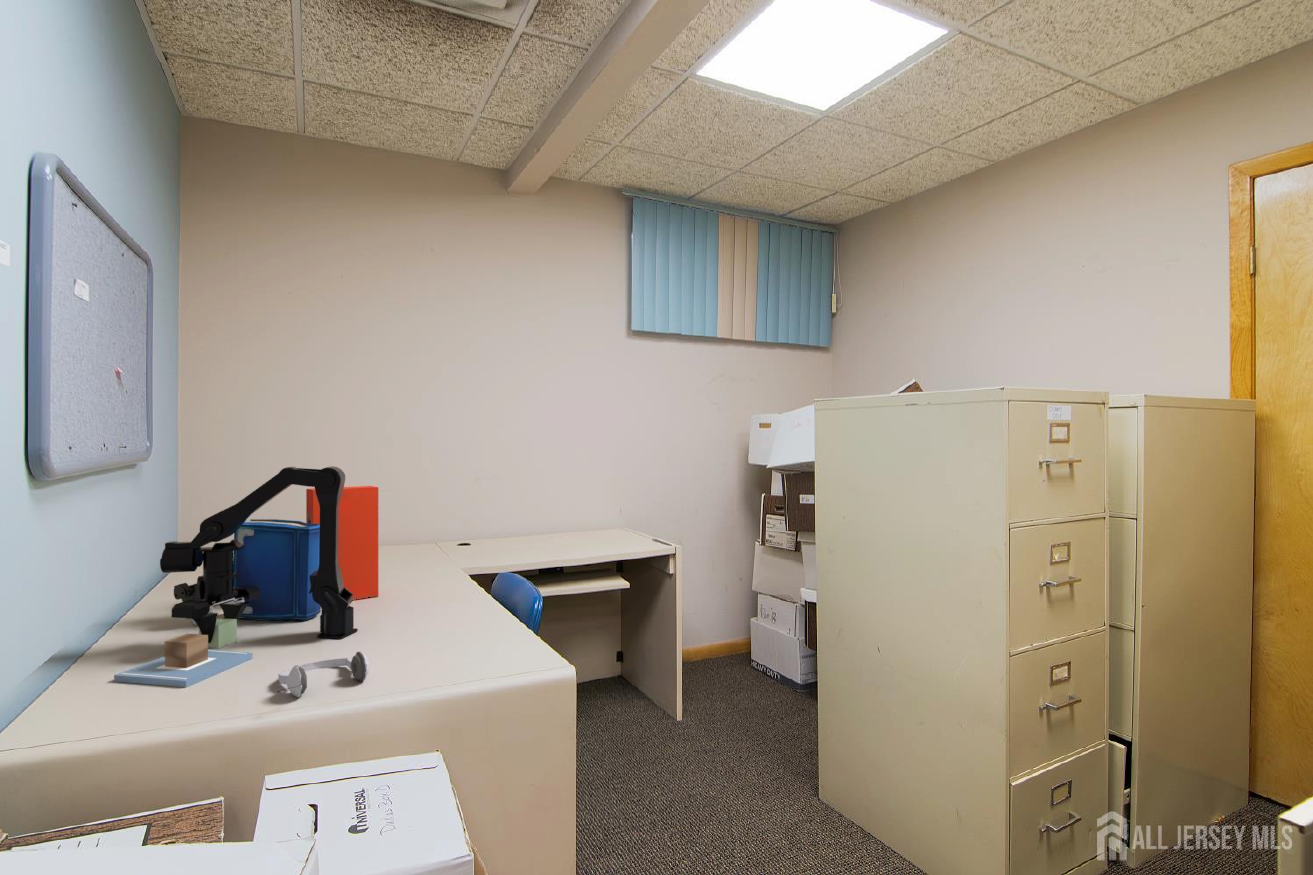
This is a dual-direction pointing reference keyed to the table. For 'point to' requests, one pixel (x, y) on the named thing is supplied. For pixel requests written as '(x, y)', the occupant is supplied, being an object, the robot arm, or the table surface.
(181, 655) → the walnut block
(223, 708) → the table surface
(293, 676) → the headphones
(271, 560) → the book
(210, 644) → the green block
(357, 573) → the file binder
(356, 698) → the table surface
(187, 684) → the board
